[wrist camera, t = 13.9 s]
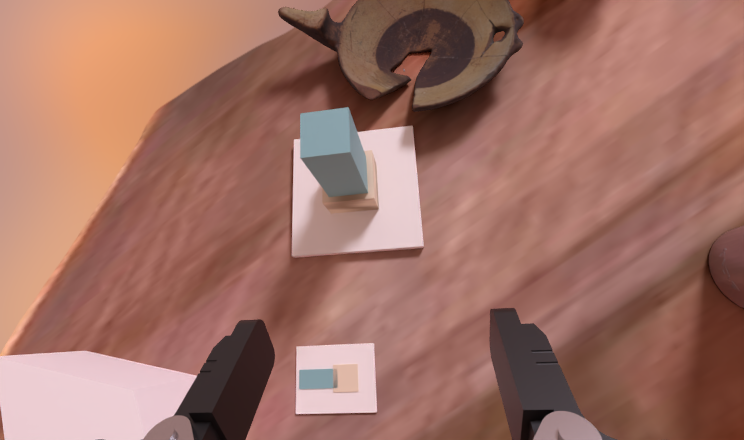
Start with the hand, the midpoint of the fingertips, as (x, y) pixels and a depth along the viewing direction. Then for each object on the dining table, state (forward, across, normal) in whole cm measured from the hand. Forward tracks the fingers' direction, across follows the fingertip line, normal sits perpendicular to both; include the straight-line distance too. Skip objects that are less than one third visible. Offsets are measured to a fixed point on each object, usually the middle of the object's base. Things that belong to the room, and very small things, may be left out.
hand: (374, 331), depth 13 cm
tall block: (+29, +6, +5) cm, 30 cm away
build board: (+33, +6, +9) cm, 35 cm away
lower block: (+32, +6, +8) cm, 34 cm away
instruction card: (+17, +9, +24) cm, 31 cm away
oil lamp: (+48, -2, -6) cm, 49 cm away
